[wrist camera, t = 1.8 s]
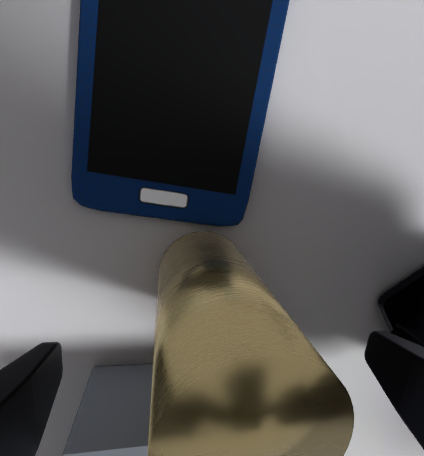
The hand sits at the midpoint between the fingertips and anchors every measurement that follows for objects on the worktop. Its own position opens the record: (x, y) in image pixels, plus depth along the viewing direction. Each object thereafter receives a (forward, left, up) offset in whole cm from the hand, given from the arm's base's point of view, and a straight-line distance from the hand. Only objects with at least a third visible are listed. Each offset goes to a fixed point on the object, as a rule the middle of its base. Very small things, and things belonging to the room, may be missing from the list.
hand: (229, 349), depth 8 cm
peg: (0, 0, -5) cm, 5 cm away
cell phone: (-5, -8, -6) cm, 11 cm away
